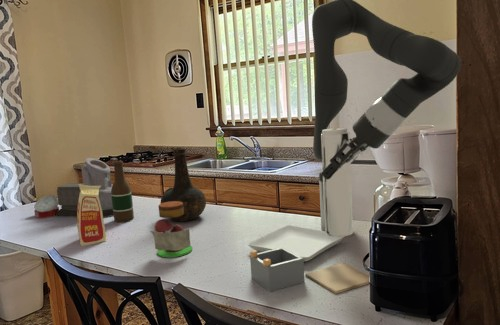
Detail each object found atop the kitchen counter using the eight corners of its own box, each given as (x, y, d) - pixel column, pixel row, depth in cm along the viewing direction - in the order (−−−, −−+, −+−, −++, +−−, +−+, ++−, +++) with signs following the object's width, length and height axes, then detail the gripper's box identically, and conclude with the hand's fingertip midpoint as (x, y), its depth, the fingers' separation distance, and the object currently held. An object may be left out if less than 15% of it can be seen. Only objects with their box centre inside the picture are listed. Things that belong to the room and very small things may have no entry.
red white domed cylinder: (61, 223, 190) (68, 204, 188) (41, 227, 181) (48, 207, 179) (46, 210, 195) (52, 191, 192) (25, 213, 186) (32, 193, 183)
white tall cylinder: (353, 237, 98) (349, 129, 94) (324, 237, 99) (320, 130, 96) (352, 228, 104) (348, 127, 101) (325, 228, 105) (321, 128, 102)
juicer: (131, 208, 189) (126, 154, 186) (111, 218, 174) (104, 160, 171) (74, 208, 197) (68, 156, 194) (50, 217, 182) (43, 161, 179)
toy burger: (152, 248, 134) (147, 202, 132) (192, 243, 137) (188, 197, 135) (152, 261, 123) (147, 211, 121) (195, 255, 125) (191, 206, 123)
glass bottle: (180, 211, 179) (174, 145, 175) (216, 214, 171) (210, 145, 167) (152, 222, 164) (145, 151, 160) (189, 226, 156) (183, 151, 152)
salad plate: (307, 269, 111) (307, 256, 111) (246, 254, 125) (246, 242, 125) (346, 245, 127) (345, 234, 127) (288, 234, 141) (287, 224, 140)
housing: (284, 269, 111) (282, 242, 110) (304, 281, 103) (303, 253, 102) (249, 278, 107) (247, 250, 106) (268, 292, 98) (266, 262, 97)
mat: (343, 265, 111) (343, 263, 111) (376, 281, 101) (376, 278, 101) (305, 275, 106) (305, 273, 106) (335, 293, 95) (335, 291, 95)
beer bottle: (110, 222, 169) (103, 162, 165) (122, 216, 176) (116, 159, 172) (125, 223, 166) (119, 162, 162) (138, 217, 173) (132, 159, 169)
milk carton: (81, 246, 141) (73, 187, 138) (78, 239, 149) (71, 183, 146) (109, 240, 145) (102, 183, 142) (105, 233, 153) (98, 179, 150)
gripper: (375, 109, 100) (329, 158, 108) (356, 112, 88) (306, 167, 96) (399, 131, 98) (350, 179, 106) (383, 137, 86) (329, 192, 93)
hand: (329, 173), depth 101 cm, fingers closed on white tall cylinder, 6 cm apart
